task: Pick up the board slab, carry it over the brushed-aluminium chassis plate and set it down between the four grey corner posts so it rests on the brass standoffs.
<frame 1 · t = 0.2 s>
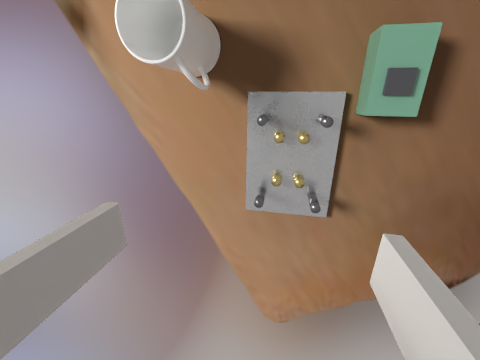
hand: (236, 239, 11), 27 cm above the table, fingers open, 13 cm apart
board: (385, 76, 31), on the table
mug: (199, 57, 34), on the table
chassis: (289, 156, 37), on the table
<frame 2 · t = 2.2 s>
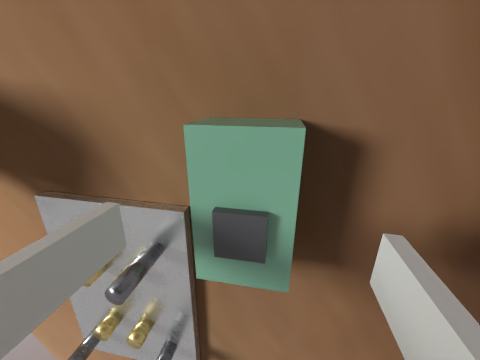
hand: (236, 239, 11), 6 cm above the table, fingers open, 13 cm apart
board: (252, 187, 17), on the table
chassis: (131, 286, 23), on the table
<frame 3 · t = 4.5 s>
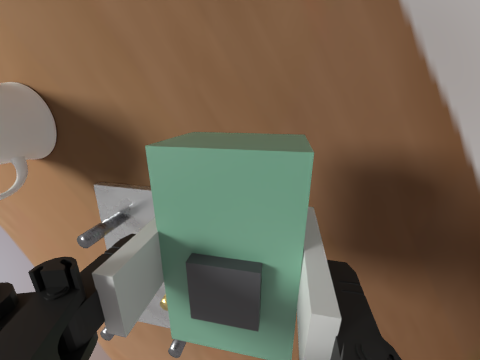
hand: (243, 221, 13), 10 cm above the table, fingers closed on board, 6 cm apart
board: (245, 216, 13), point 9 cm above the table, touching gripper
mug: (36, 135, 26), on the table
chassis: (162, 261, 28), on the table
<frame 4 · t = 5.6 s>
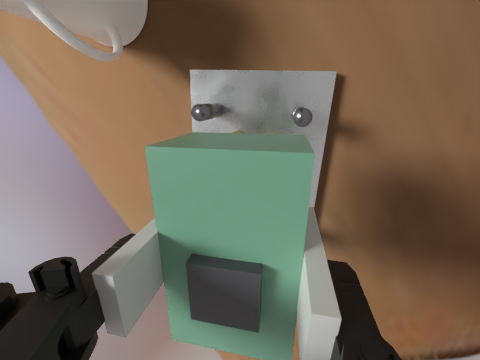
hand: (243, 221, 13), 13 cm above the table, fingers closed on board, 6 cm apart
board: (245, 217, 13), point 13 cm above the table, touching gripper
mug: (120, 16, 23), on the table
chassis: (254, 167, 25), on the table
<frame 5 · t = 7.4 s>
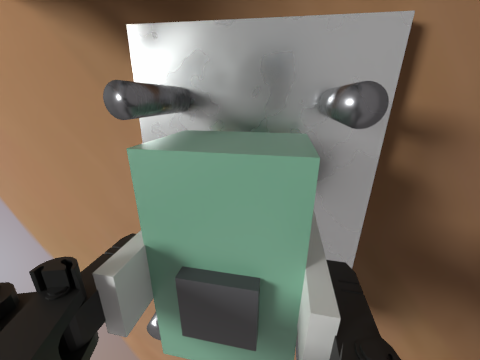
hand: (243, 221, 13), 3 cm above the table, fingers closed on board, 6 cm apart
board: (242, 221, 12), point 3 cm above the table, touching chassis, gripper
chassis: (250, 196, 15), on the table
when the fingers open (3 cm above the table, at t = 7.6 s): board stays where it is, resting on chassis.
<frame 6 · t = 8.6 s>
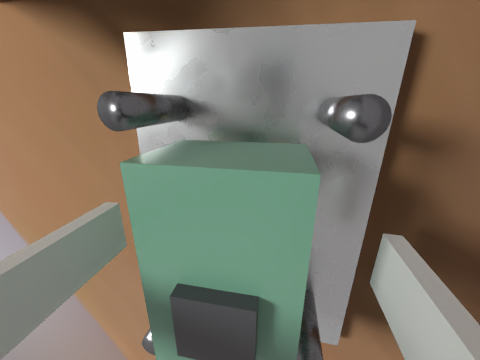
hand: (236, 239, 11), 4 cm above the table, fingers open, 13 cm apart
board: (240, 232, 12), point 3 cm above the table, touching chassis
chassis: (249, 205, 15), on the table
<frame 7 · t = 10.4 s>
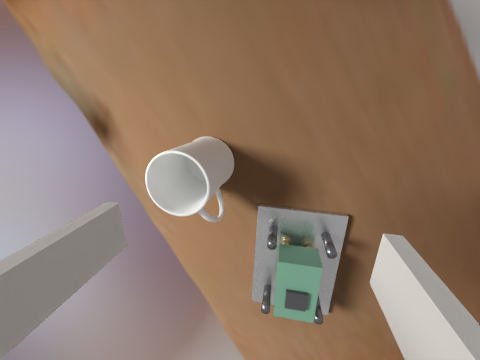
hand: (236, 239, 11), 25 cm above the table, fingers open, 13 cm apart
board: (295, 272, 36), point 3 cm above the table, touching chassis
mug: (214, 170, 37), on the table
chassis: (294, 259, 39), on the table
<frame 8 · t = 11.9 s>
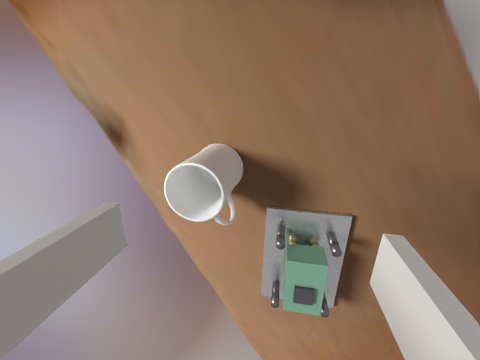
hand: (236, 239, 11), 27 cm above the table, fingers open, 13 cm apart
board: (302, 269, 39), point 3 cm above the table, touching chassis
mug: (224, 175, 39), on the table
chassis: (301, 257, 42), on the table
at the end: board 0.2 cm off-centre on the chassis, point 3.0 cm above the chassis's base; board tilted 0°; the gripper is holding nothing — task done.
